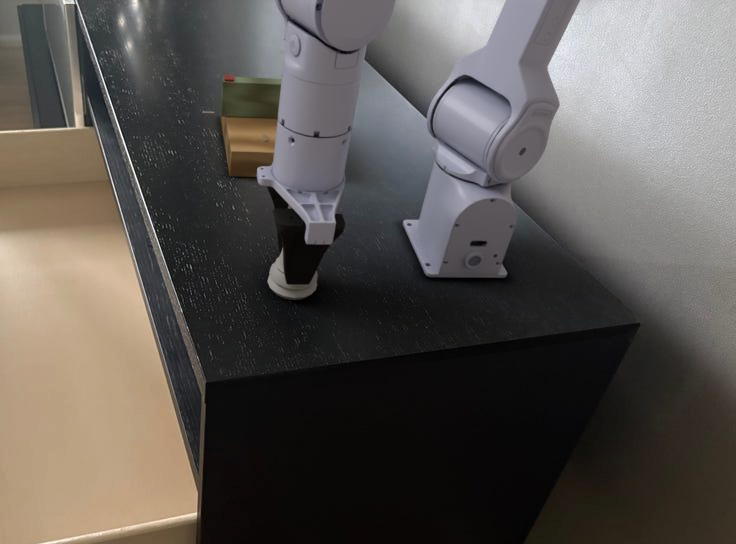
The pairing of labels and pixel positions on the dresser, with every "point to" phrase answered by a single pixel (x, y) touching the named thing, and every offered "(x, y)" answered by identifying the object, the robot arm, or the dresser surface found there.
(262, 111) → the green flat block
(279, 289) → the rook chess piece
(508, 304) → the dresser surface
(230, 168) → the base
